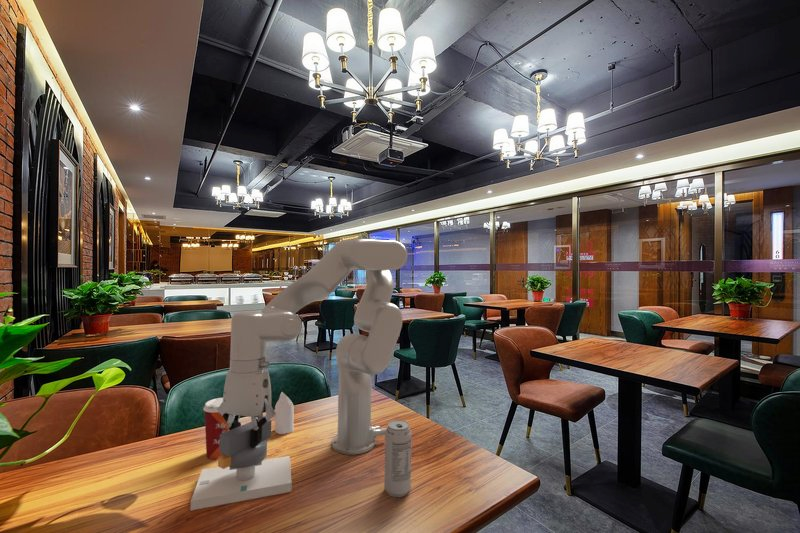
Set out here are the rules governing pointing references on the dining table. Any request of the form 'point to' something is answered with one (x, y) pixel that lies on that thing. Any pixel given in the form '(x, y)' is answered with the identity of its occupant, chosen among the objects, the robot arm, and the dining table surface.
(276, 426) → the white pointed block
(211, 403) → the paper cup
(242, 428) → the lock knob
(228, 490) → the base
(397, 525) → the dining table surface
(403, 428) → the energy drink can
